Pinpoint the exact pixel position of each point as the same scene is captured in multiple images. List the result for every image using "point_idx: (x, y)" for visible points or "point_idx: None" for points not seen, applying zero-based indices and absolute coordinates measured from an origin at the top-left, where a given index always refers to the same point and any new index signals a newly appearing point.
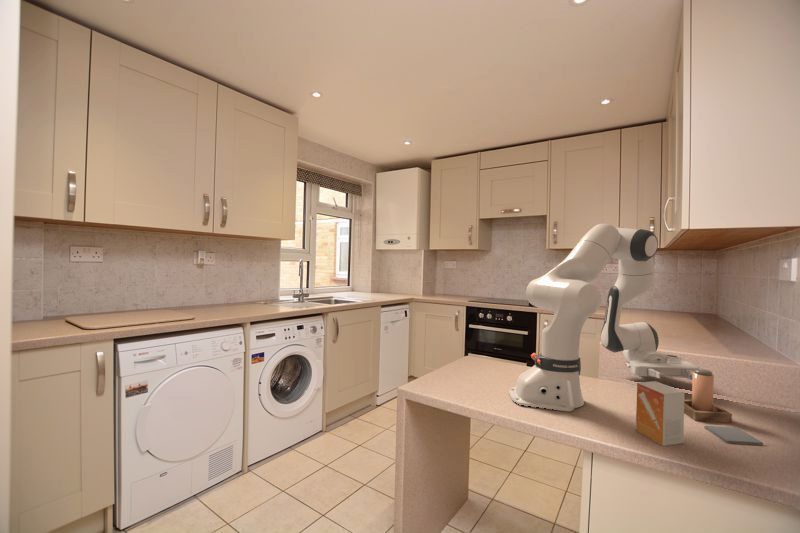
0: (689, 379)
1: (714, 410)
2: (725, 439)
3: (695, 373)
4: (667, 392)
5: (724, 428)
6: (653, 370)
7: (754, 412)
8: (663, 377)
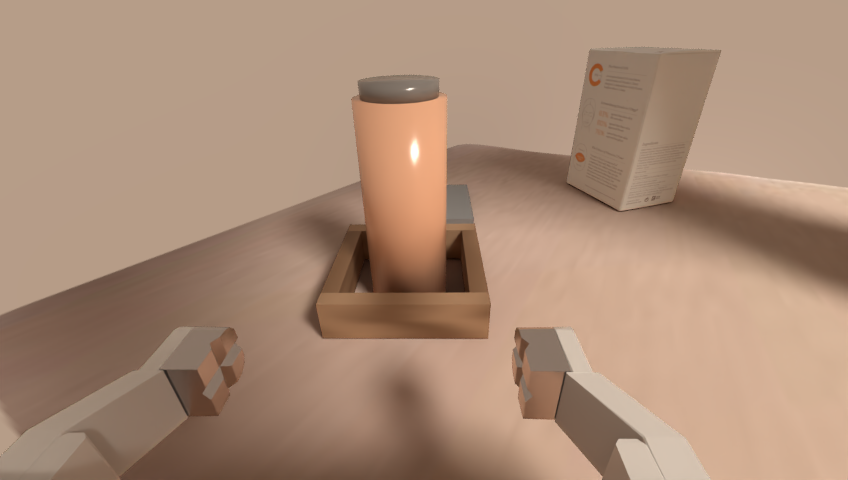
0: (238, 378)
1: (351, 279)
2: (466, 186)
3: (439, 95)
4: (633, 47)
5: None
6: (622, 401)
7: (133, 325)
8: (513, 353)
